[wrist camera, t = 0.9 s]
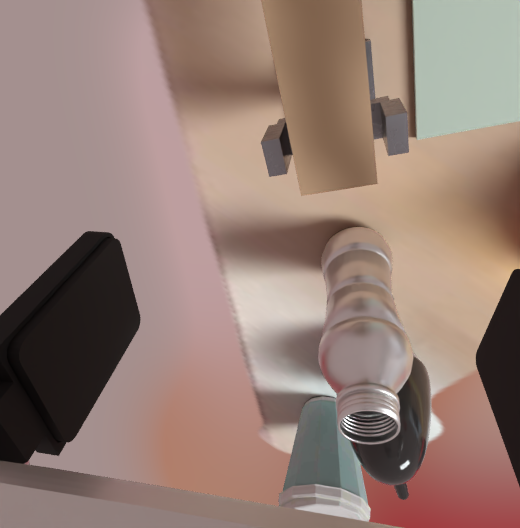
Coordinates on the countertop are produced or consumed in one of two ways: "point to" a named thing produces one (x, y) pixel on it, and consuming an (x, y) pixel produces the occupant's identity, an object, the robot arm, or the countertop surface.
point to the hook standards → (383, 122)
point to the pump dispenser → (402, 436)
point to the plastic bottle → (363, 336)
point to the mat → (465, 64)
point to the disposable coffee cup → (324, 467)
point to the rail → (324, 90)
